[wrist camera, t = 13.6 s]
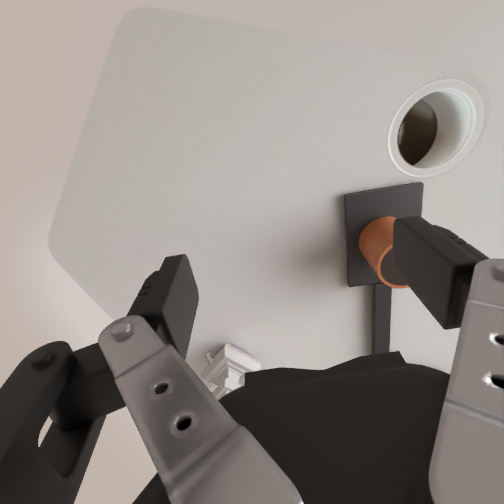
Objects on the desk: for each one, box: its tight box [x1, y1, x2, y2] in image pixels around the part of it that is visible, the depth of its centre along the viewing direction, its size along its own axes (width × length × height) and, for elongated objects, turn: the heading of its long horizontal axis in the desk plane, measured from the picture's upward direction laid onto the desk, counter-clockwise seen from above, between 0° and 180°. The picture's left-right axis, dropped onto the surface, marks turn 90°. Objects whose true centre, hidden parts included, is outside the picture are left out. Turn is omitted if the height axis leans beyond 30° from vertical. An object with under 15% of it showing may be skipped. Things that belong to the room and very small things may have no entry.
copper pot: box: [359, 217, 409, 288], centre depth 36 cm, size 6×6×7 cm
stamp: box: [201, 344, 261, 400], centre depth 45 cm, size 9×7×8 cm
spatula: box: [344, 182, 424, 355], centre depth 43 cm, size 30×9×1 cm, turn 10°
